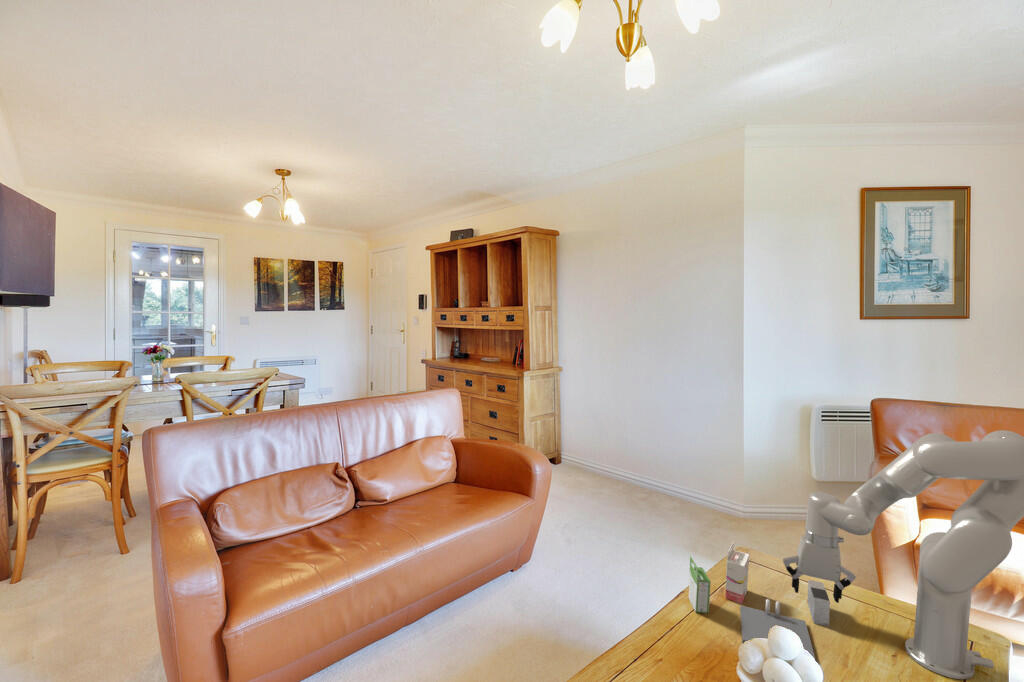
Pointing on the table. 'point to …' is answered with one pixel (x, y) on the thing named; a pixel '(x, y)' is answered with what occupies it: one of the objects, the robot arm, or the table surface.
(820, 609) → the block
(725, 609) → the table surface
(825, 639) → the table surface
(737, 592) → the ink cartridge box
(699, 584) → the ink box
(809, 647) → the pin tray
